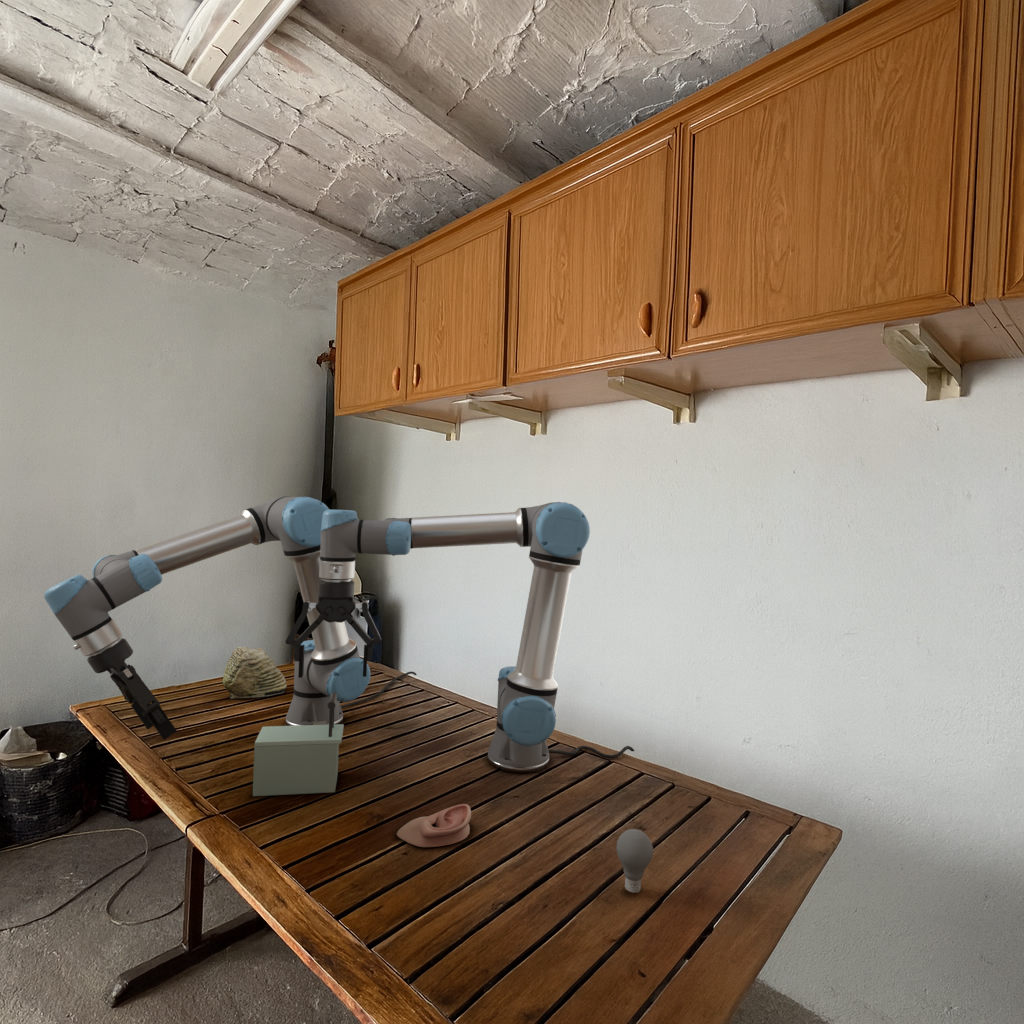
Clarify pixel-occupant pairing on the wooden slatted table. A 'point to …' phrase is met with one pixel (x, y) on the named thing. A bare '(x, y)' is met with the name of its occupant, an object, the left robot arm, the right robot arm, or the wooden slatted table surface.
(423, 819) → the anatomical model
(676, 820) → the wooden slatted table surface
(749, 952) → the wooden slatted table surface
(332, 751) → the chest
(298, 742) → the lid
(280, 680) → the fossil
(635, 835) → the light bulb
